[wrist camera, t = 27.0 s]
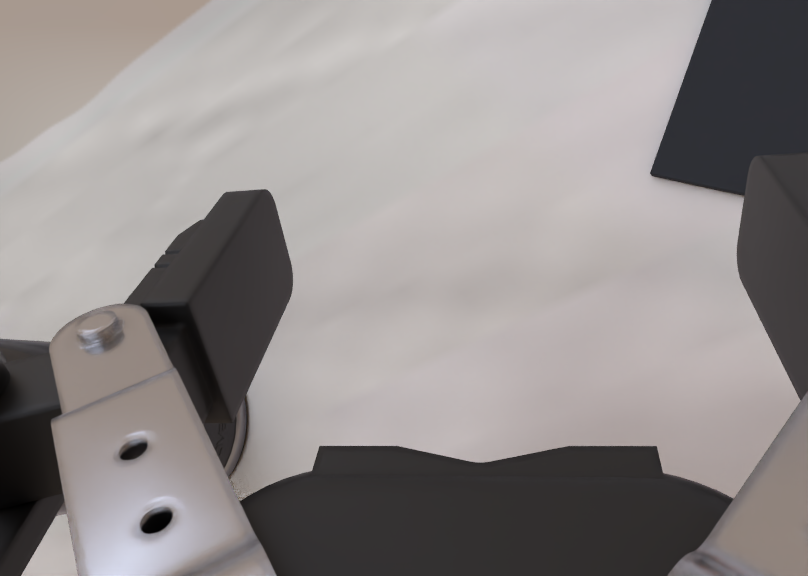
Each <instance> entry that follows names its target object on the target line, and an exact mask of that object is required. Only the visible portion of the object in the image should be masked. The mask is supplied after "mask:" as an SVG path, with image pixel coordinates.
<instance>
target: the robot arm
mask: <svg viewBox="0 0 808 576" xmlns="http://www.w3.org/2000/svg"><path fill="white" fill-rule="evenodd" d="M165 253H166V254H165V255H162V256H161V257H160V259H159V260H158V261H157V262H156V264H155V268H152V269H151V270H150V271H149V272H148V274H147V275H146V276H145V277H144V279H143V280H142V281H141V283H140V284H139V285H138V286H137V288H136V289H135V290H134V291H133V293H132V294H131V295H130V296H129V298H128V299H127V300H126V301H125V303H124V304H115V305H109V306H105V307H101V308H98V309H95V310H92V311H90V312H87V313H85V314H83V315H81V316H79V317H77V318H75V319H74V320H72V321H71V322H69V323H68V324H66V325H65V326H64V327H63V328H61V329H60V330H59V331H58V332H57V334H56V335H55V336H54V337H53V339H52V341H51V342H44V341H27V340H10V339H0V576H21V575H22V573H23V571H24V569H25V568H26V566H27V564H28V563H29V561H30V559H31V557H32V556H33V554H34V552H35V551H36V549H37V547H38V546H39V544H40V542H41V540H42V539H43V537H44V535H45V534H46V532H47V530H48V528H49V527H50V525H51V523H52V522H53V520H54V518H55V516H58V515H64V514H67V517H68V522H69V528H70V533H71V539H72V544H73V550H74V555H75V561H76V566H77V572H78V576H808V152H806V153H791V154H777V155H763V156H755V157H754V158H753V160H752V161H751V164H750V167H749V171H748V176H747V183H746V190H745V196H744V203H743V210H742V216H741V223H740V230H739V236H738V243H737V264H738V271H739V275H740V279H741V281H742V283H743V285H744V287H745V289H746V292H747V294H748V296H749V298H750V300H751V302H752V304H753V306H754V308H755V310H756V312H757V314H758V316H759V318H760V320H761V322H762V324H763V326H764V328H765V330H766V332H767V334H768V336H769V338H770V340H771V342H772V344H773V346H774V348H775V350H776V352H777V354H778V356H779V358H780V360H781V362H782V364H783V366H784V368H785V370H786V372H787V374H788V376H789V378H790V380H791V382H792V384H793V386H794V388H795V390H796V392H797V394H798V396H799V398H800V400H801V402H800V403H799V405H798V406H797V407H796V409H795V410H794V412H793V413H792V415H791V416H790V418H789V419H788V421H787V422H786V423H785V425H784V426H783V428H782V429H781V431H780V432H779V434H778V435H777V437H776V438H775V440H774V441H773V442H772V444H771V445H770V447H769V448H768V450H767V451H766V453H765V454H764V456H763V457H762V459H761V460H760V461H759V463H758V464H757V466H756V467H755V469H754V470H753V472H752V473H751V475H750V476H749V477H748V479H747V480H746V482H745V483H744V485H743V486H742V488H741V489H740V491H739V492H738V494H737V495H736V496H735V498H734V499H733V498H731V497H729V496H727V495H725V494H723V493H721V492H719V491H717V490H715V489H712V488H710V487H707V486H705V485H702V484H700V483H697V482H694V481H690V480H687V479H684V478H681V477H677V476H673V475H668V474H664V473H663V472H662V467H661V463H660V459H659V454H658V450H657V446H567V447H562V448H557V449H552V450H547V451H542V452H537V453H532V454H527V455H522V456H517V457H512V458H507V459H502V460H497V461H492V462H485V463H475V462H469V461H464V460H460V459H455V458H450V457H446V456H441V455H436V454H432V453H427V452H422V451H417V450H413V449H408V448H403V447H399V446H320V447H319V450H318V453H317V457H316V460H315V463H314V466H313V470H312V471H311V472H306V473H302V474H299V475H295V476H292V477H289V478H286V479H283V480H281V481H278V482H276V483H273V484H271V485H268V486H266V487H264V488H262V489H261V490H259V491H257V492H255V493H253V494H251V495H249V496H248V497H246V498H245V499H243V500H242V501H240V502H239V499H238V497H237V495H236V493H235V491H234V489H233V487H232V485H231V483H230V481H229V478H228V477H229V475H230V474H231V473H232V471H233V469H234V468H235V466H236V464H237V462H238V460H239V457H240V454H241V452H242V448H243V445H244V440H245V434H246V405H245V399H244V398H245V396H246V393H247V391H248V389H249V387H250V385H251V382H252V380H253V378H254V376H255V374H256V372H257V369H258V367H259V365H260V363H261V361H262V358H263V356H264V354H265V352H266V350H267V348H268V345H269V343H270V341H271V339H272V337H273V334H274V332H275V330H276V328H277V326H278V324H279V321H280V319H281V317H282V315H283V313H284V310H285V308H286V306H287V304H288V302H289V300H290V297H291V293H292V287H293V273H292V266H291V261H290V258H289V254H288V250H287V246H286V243H285V239H284V235H283V231H282V227H281V224H280V220H279V216H278V212H277V208H276V205H275V201H274V199H273V197H272V195H271V193H270V192H269V191H268V190H266V189H264V190H249V191H235V192H226V193H224V194H223V195H222V197H221V198H220V199H219V200H218V202H217V203H216V204H215V206H214V207H213V208H212V210H211V211H210V212H209V214H208V215H207V216H206V218H205V219H204V220H200V221H198V222H197V223H195V224H194V225H192V226H191V227H189V228H188V229H186V230H185V231H183V232H182V233H181V234H179V235H178V236H177V237H176V238H175V240H174V241H173V242H172V243H171V245H170V246H169V247H168V249H167V250H166V251H165Z"/></svg>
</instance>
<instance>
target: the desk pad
mask: <svg viewBox="0 0 808 576" xmlns="http://www.w3.org/2000/svg"><path fill="white" fill-rule="evenodd" d="M806 152H808V0H712V1H711V4H710V7H709V10H708V12H707V15H706V18H705V21H704V24H703V26H702V29H701V32H700V35H699V38H698V40H697V43H696V46H695V49H694V52H693V54H692V57H691V60H690V63H689V66H688V69H687V71H686V74H685V77H684V80H683V83H682V85H681V88H680V91H679V94H678V97H677V99H676V102H675V105H674V108H673V111H672V113H671V116H670V119H669V122H668V125H667V127H666V130H665V133H664V136H663V139H662V141H661V144H660V147H659V150H658V153H657V156H656V158H655V161H654V164H653V167H652V170H651V172H650V174H651V175H652V176H655V177H660V178H664V179H669V180H674V181H678V182H683V183H688V184H692V185H697V186H702V187H706V188H711V189H716V190H720V191H725V192H729V193H734V194H739V195H743V196H745V190H746V183H747V176H748V171H749V167H750V164H751V161H752V160H753V158H754V157H755V156H763V155H777V154H791V153H806Z"/></svg>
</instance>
